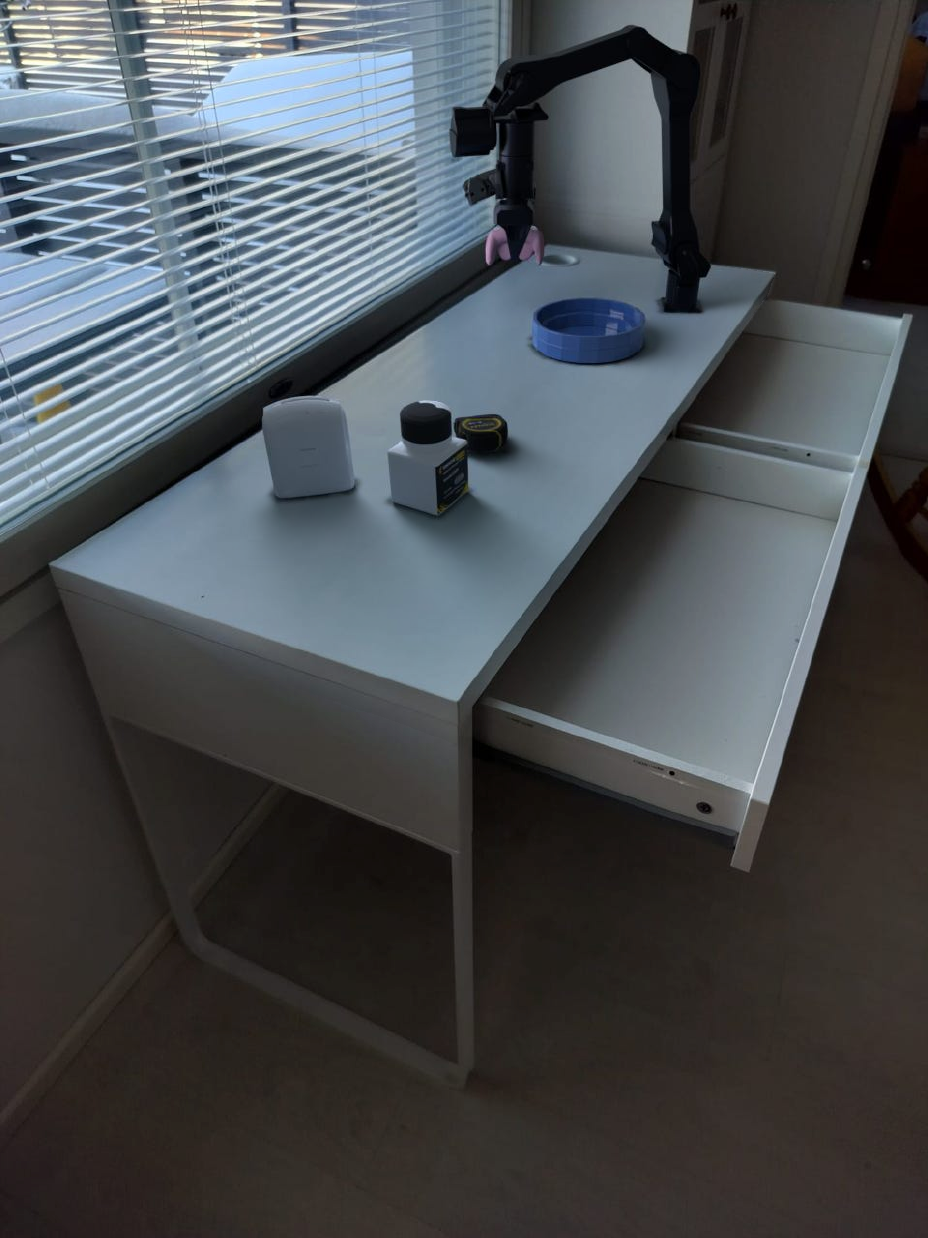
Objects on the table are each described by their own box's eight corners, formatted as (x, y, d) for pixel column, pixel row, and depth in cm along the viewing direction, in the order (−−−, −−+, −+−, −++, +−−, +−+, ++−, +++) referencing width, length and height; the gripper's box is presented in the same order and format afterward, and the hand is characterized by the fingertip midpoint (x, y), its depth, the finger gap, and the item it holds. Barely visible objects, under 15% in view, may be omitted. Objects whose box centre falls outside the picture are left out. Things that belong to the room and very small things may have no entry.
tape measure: (501, 433, 124) (501, 408, 121) (512, 455, 118) (513, 430, 116) (453, 438, 123) (452, 413, 121) (462, 461, 118) (461, 435, 115)
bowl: (534, 322, 156) (535, 297, 154) (638, 323, 155) (641, 297, 152) (530, 363, 142) (531, 336, 140) (645, 365, 141) (648, 337, 138)
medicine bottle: (438, 517, 107) (433, 426, 99) (390, 502, 110) (382, 412, 102) (469, 490, 112) (467, 401, 104) (422, 477, 115) (417, 389, 107)
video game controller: (544, 269, 151) (545, 225, 150) (543, 264, 147) (545, 219, 146) (486, 269, 152) (487, 225, 151) (484, 264, 148) (485, 219, 146)
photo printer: (274, 502, 111) (257, 410, 103) (273, 485, 114) (257, 395, 106) (356, 493, 112) (345, 401, 104) (353, 476, 115) (343, 386, 107)
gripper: (470, 141, 148) (472, 239, 158) (460, 166, 133) (462, 272, 143) (537, 140, 147) (535, 239, 157) (534, 166, 132) (531, 273, 142)
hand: (515, 255), depth 150 cm, fingers closed on video game controller, 6 cm apart
